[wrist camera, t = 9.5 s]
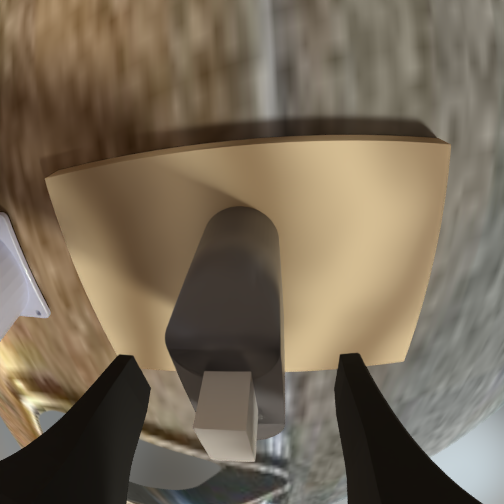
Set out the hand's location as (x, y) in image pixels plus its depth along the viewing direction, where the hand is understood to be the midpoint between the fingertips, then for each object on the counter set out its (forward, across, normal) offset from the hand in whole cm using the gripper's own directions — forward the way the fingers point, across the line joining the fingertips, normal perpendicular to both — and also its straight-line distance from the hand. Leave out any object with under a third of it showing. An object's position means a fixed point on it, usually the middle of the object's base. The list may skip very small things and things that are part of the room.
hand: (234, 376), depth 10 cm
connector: (+5, 0, 0) cm, 5 cm away
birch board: (+6, 0, 0) cm, 6 cm away
